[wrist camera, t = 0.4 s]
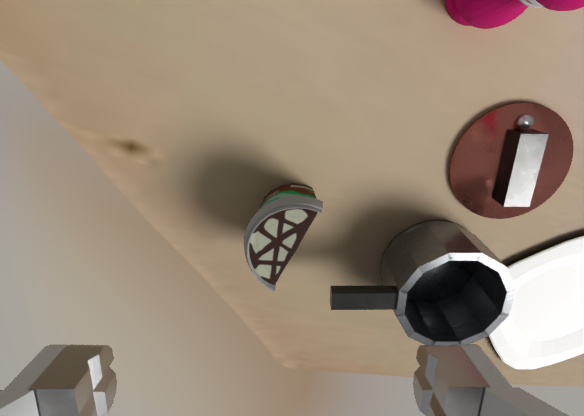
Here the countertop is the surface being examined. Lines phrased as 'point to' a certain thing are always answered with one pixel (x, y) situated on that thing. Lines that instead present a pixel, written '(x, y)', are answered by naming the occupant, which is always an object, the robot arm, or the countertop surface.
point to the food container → (279, 230)
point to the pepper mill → (500, 10)
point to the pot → (437, 285)
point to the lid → (511, 160)
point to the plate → (544, 308)
